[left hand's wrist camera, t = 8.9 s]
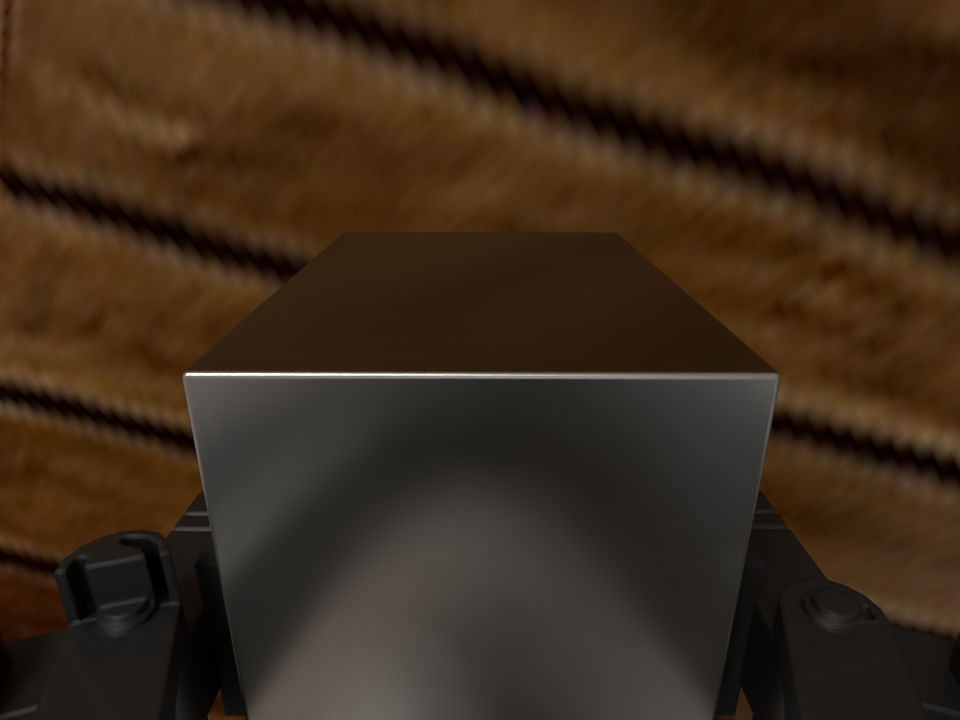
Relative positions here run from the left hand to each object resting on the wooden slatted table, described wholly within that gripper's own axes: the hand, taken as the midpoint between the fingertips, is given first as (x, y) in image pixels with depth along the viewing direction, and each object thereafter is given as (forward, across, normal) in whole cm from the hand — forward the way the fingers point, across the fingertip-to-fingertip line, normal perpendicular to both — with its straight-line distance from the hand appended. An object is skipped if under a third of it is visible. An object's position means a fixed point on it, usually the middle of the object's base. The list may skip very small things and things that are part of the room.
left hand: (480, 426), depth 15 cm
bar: (0, 0, -8) cm, 8 cm away
